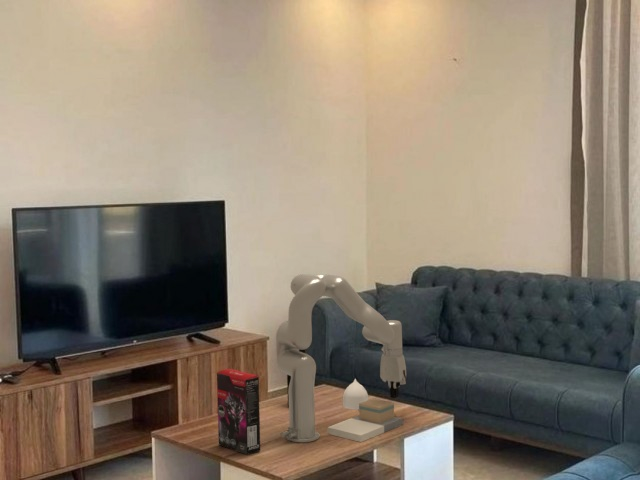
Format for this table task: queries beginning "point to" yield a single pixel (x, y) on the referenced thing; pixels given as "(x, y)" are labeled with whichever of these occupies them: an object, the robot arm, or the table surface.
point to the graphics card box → (238, 411)
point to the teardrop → (354, 396)
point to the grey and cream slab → (362, 428)
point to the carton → (376, 410)
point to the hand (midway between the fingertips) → (394, 397)
